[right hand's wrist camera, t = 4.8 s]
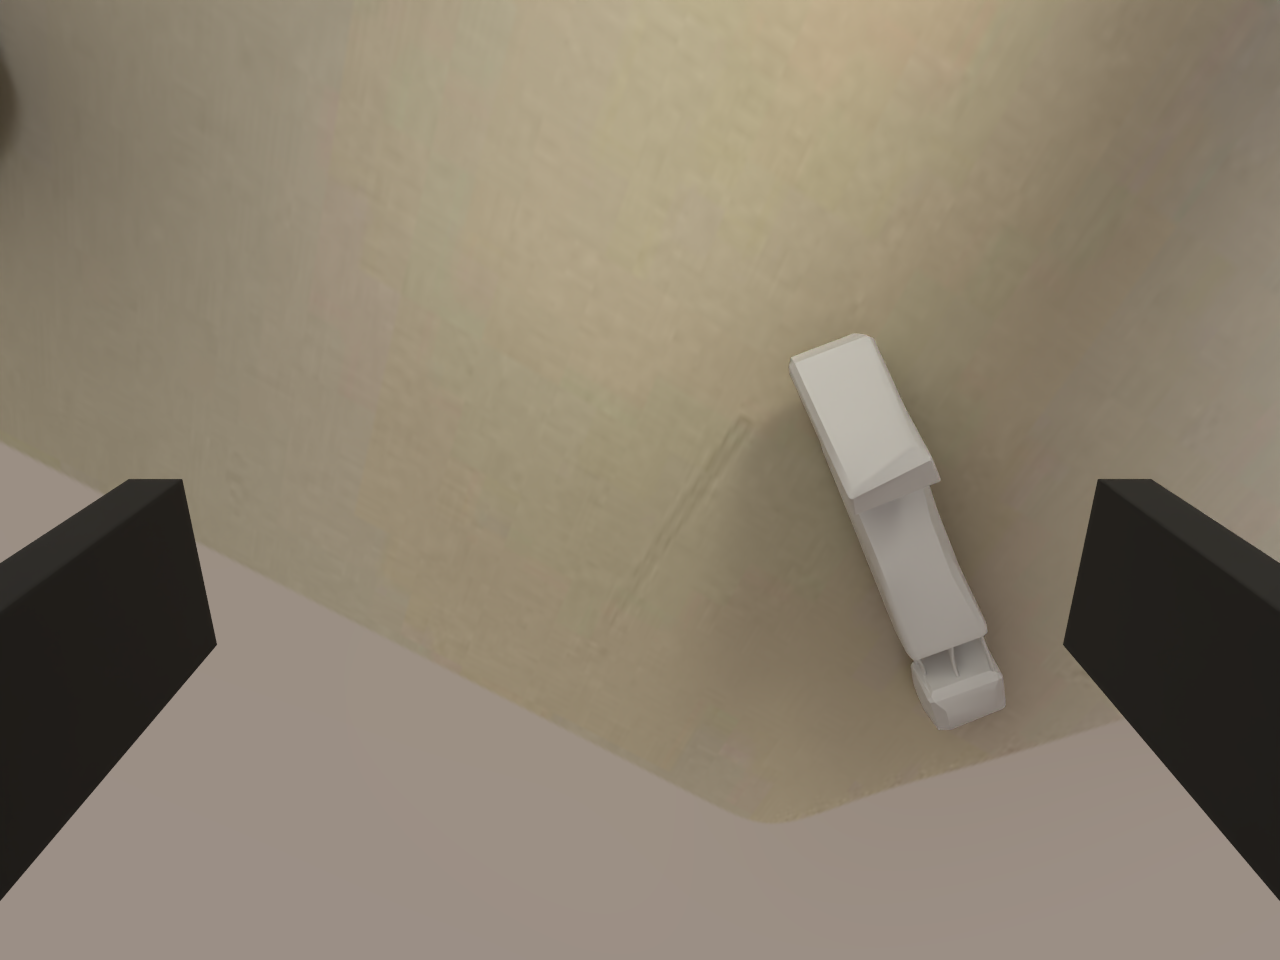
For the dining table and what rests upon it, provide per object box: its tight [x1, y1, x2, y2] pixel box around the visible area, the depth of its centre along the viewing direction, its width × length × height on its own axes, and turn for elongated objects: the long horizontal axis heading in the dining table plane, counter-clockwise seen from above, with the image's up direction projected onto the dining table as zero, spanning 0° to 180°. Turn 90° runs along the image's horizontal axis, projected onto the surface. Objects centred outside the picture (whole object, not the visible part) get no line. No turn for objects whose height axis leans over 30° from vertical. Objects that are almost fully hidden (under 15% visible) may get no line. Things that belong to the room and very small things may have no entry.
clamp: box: [789, 333, 1006, 730], centre depth 37 cm, size 20×4×7 cm, turn 25°
